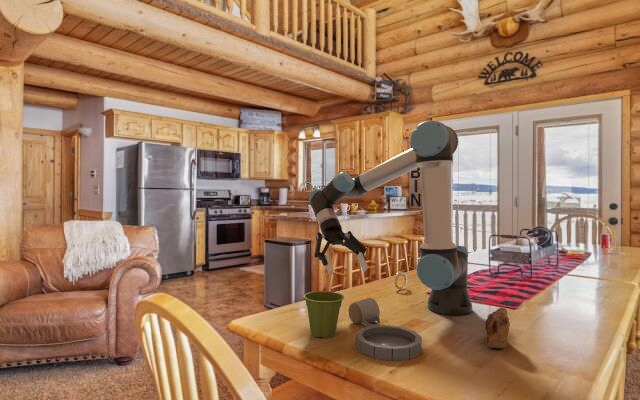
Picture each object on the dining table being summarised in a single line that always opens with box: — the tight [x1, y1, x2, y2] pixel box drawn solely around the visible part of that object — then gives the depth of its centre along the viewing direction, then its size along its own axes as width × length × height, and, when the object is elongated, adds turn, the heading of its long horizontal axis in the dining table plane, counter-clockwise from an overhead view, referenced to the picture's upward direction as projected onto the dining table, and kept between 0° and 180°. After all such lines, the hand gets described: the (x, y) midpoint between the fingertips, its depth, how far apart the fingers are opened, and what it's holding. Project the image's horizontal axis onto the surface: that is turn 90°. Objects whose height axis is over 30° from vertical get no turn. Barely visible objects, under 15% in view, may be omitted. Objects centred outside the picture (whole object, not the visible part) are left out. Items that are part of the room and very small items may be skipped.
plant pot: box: [303, 290, 345, 339], centre depth 117 cm, size 12×12×11 cm
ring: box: [393, 270, 408, 291], centre depth 170 cm, size 7×3×8 cm, turn 120°
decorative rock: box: [484, 307, 511, 349], centre depth 110 cm, size 12×6×11 cm, turn 159°
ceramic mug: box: [347, 297, 381, 328], centre depth 127 cm, size 10×8×7 cm
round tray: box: [355, 324, 423, 362], centre depth 108 cm, size 17×17×3 cm
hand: (349, 271), depth 137 cm, fingers open, 13 cm apart
